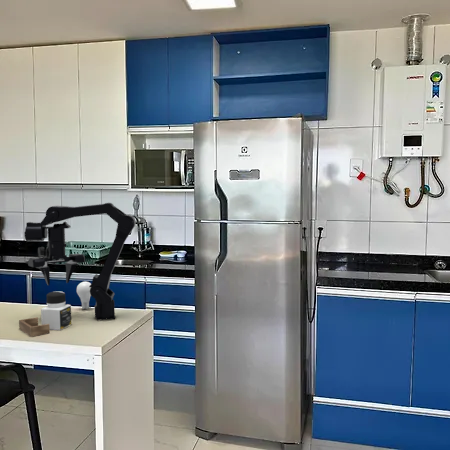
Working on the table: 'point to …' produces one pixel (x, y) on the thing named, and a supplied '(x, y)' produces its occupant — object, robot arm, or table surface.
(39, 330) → the corral
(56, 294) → the medicine bottle
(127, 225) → the robot arm
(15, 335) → the table surface
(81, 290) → the lightbulb
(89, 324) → the table surface
